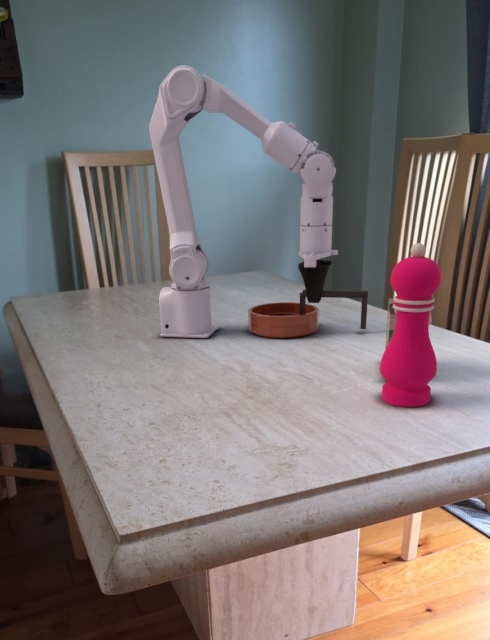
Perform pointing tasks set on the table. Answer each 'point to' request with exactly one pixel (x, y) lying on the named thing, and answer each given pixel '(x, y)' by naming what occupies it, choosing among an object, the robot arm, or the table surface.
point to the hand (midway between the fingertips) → (314, 301)
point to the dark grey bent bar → (340, 294)
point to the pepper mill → (411, 332)
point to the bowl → (282, 320)
